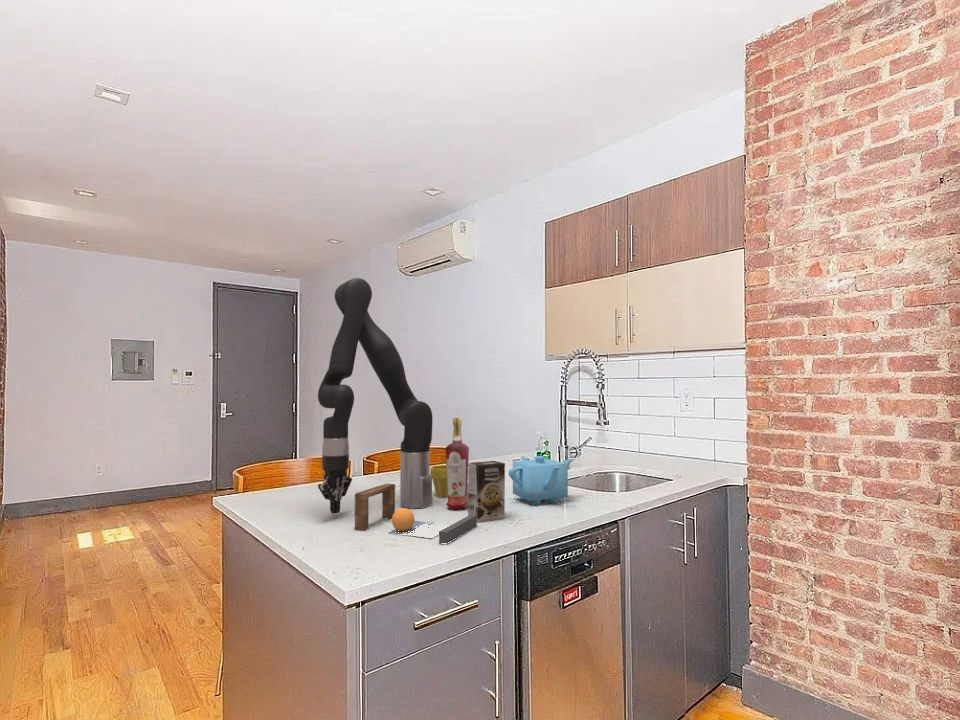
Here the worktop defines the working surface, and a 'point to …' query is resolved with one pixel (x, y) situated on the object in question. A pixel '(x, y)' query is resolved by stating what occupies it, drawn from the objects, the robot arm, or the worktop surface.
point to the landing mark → (416, 523)
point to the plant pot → (439, 480)
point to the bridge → (363, 504)
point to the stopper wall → (457, 529)
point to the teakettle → (540, 479)
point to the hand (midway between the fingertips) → (335, 512)
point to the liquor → (457, 469)
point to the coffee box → (486, 490)
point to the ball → (403, 519)
